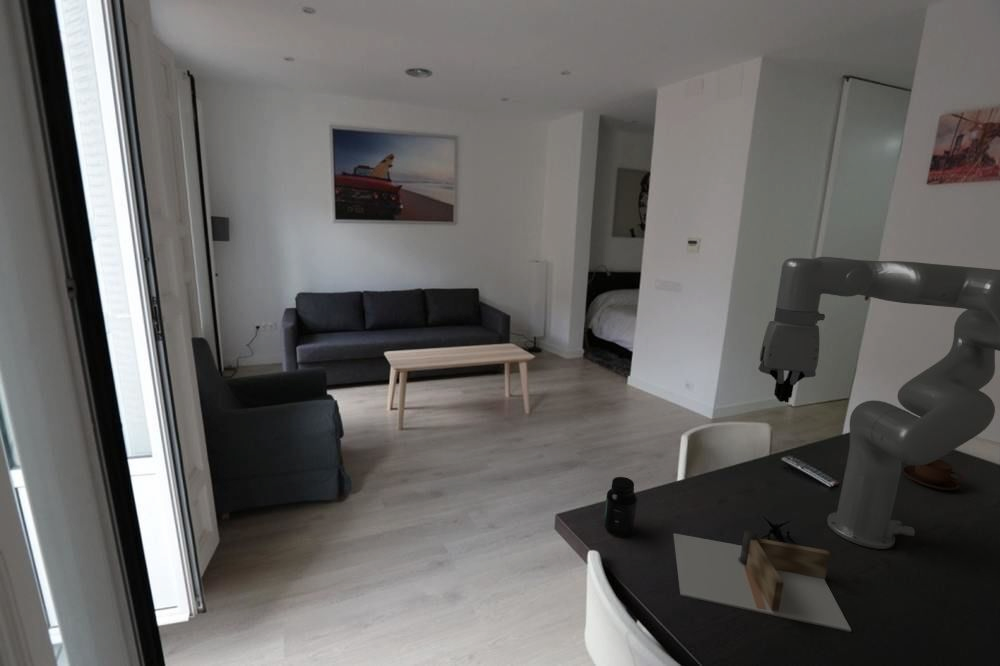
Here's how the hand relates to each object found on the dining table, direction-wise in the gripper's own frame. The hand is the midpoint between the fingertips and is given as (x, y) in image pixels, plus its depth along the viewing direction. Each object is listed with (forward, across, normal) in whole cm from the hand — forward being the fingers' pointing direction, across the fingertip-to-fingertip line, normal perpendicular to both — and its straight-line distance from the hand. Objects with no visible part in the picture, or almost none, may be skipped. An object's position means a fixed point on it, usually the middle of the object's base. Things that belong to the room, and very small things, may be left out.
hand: (782, 399), depth 103 cm
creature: (+32, -2, +5) cm, 33 cm away
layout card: (+32, +6, +18) cm, 37 cm away
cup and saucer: (+32, -52, -39) cm, 72 cm away
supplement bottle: (+32, +32, +10) cm, 47 cm away
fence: (+32, 0, +14) cm, 35 cm away
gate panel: (+31, +5, +21) cm, 38 cm away
